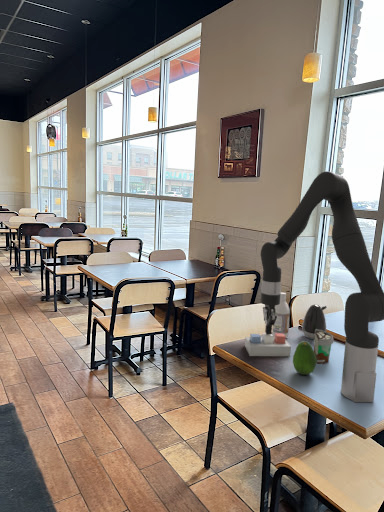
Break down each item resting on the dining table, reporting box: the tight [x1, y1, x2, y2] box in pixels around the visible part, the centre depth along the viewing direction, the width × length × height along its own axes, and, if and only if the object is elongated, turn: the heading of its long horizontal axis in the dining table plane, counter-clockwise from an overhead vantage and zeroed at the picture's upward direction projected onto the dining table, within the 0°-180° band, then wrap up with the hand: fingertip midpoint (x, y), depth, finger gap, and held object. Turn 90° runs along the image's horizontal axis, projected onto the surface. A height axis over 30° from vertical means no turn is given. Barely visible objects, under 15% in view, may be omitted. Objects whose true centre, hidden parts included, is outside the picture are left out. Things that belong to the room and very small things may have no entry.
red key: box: [274, 333, 287, 344], centre depth 149 cm, size 3×3×4 cm
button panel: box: [244, 336, 292, 357], centre depth 149 cm, size 10×16×4 cm, turn 93°
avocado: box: [292, 340, 317, 376], centre depth 129 cm, size 8×8×12 cm
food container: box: [313, 329, 334, 365], centre depth 142 cm, size 12×6×10 cm, turn 168°
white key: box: [261, 332, 273, 344], centre depth 149 cm, size 3×3×4 cm
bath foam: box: [271, 291, 291, 340], centre depth 164 cm, size 7×7×20 cm
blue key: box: [249, 333, 262, 343], centre depth 148 cm, size 3×3×4 cm
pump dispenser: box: [301, 304, 327, 340], centre depth 164 cm, size 10×10×15 cm
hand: (268, 333), depth 148 cm, fingers closed
